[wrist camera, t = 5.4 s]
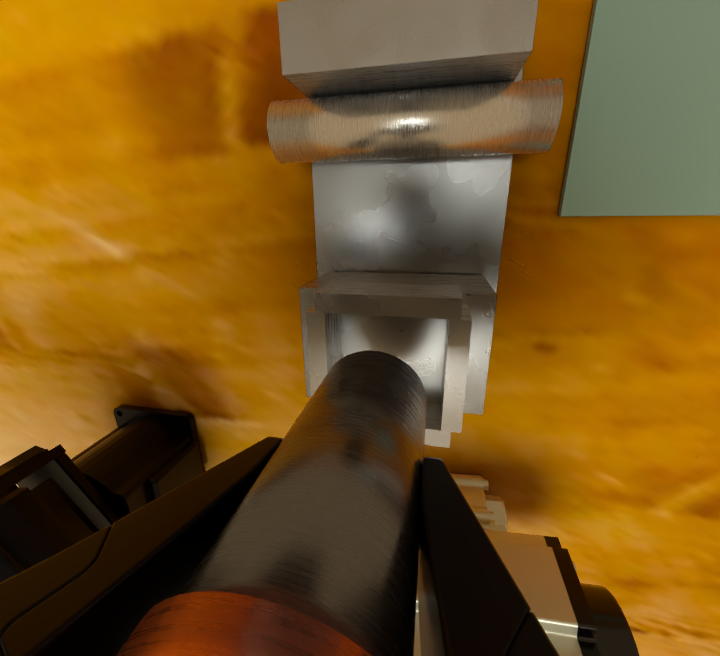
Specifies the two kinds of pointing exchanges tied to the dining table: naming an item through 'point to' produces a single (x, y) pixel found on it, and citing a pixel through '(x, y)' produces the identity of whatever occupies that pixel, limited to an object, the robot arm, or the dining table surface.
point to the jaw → (406, 334)
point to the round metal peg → (316, 534)
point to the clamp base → (412, 214)
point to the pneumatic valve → (549, 584)
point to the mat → (647, 112)
